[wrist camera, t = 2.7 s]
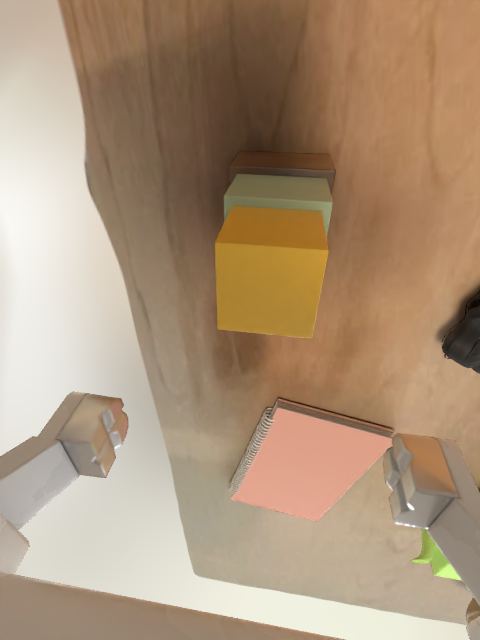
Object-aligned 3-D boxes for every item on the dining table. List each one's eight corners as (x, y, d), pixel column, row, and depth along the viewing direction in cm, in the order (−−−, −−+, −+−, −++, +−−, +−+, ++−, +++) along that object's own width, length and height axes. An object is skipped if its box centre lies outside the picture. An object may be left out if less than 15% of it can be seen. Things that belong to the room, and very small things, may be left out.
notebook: (270, 394, 43) (269, 407, 41) (393, 428, 43) (397, 441, 42) (226, 487, 59) (224, 499, 58) (316, 511, 60) (316, 523, 58)
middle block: (236, 254, 26) (224, 288, 22) (236, 173, 22) (223, 195, 18) (313, 260, 25) (316, 295, 21) (327, 177, 22) (333, 202, 18)
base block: (238, 235, 30) (230, 260, 26) (239, 150, 26) (229, 165, 22) (316, 240, 30) (319, 266, 26) (330, 154, 25) (336, 170, 21)
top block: (232, 282, 22) (217, 329, 18) (232, 205, 19) (214, 242, 15) (309, 288, 21) (312, 339, 17) (322, 210, 18) (329, 250, 14)
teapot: (394, 491, 52) (412, 572, 44) (484, 468, 46) (526, 557, 37) (441, 530, 58) (466, 608, 49) (529, 514, 51) (574, 601, 43)
